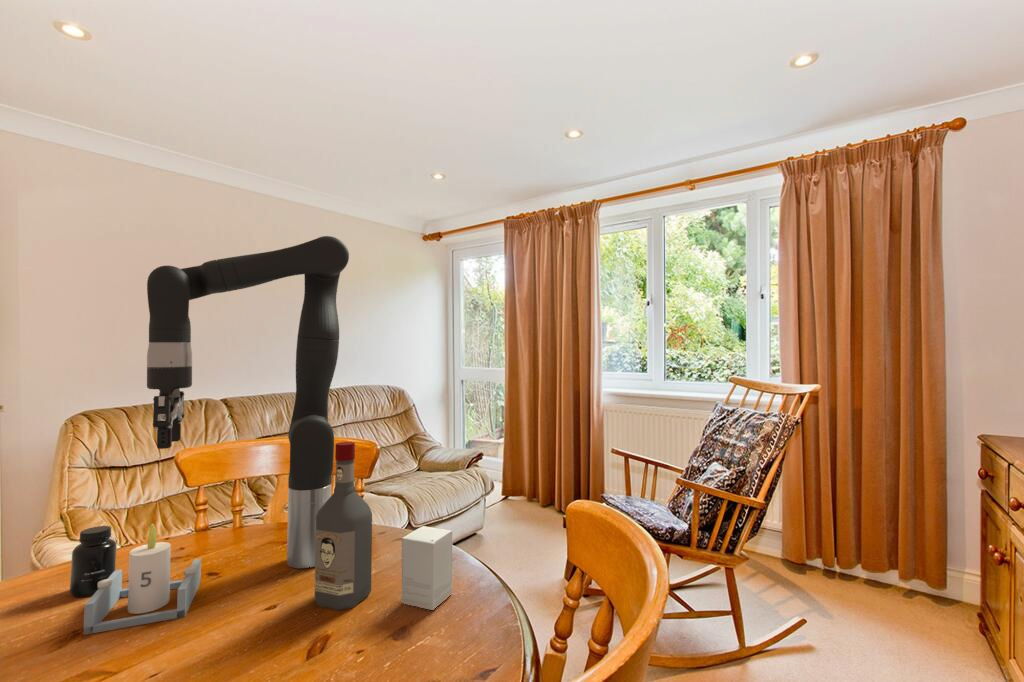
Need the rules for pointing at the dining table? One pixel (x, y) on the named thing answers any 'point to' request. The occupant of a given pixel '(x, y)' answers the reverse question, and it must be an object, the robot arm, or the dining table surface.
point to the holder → (113, 591)
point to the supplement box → (426, 567)
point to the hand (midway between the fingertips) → (169, 444)
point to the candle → (149, 575)
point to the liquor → (343, 540)
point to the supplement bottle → (92, 560)
